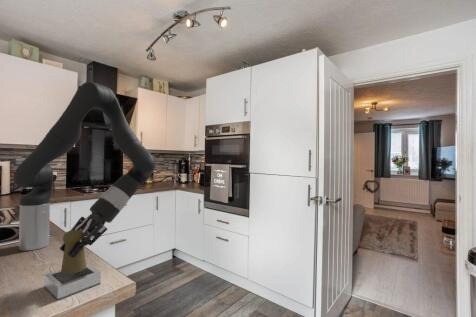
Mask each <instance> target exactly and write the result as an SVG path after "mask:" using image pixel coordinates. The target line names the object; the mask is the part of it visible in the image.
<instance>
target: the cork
mask: <svg viewBox="0 0 476 317" xmlns="http://www.w3.org/2000/svg"><path fill="white" fill-rule="evenodd" d="M70 230H71V229H70ZM70 230H69V231H66V232H64V234H63V236H62V241H63V244H64V243H65V250H64V252H63V255H62V256H63V257H62V262H61V263H62V264H61V269H60V270H61V273H62V274H74V273H78V272H80V271H82V270H84V269H85V268H86V263H87V260H86V254H85V248H84V247H85V246H84V247H83V248H82V250H81V251H80V252H79V253H78V254H77V255H76V256H75V257H74V258H72V257H71V256H69V255H68V254H67V253H68V251H69V250H70V249H71V248H72V247H73V246H74V245H75V244H76V243H77V242H79V239H80V238H81V236H82V232H83V230H76V229H75V230H71V231H70Z"/></svg>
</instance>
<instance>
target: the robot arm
mask: <svg viewBox="0 0 476 317" xmlns="http://www.w3.org/2000/svg"><path fill="white" fill-rule="evenodd" d="M91 110H98V111H101V112H102V113H103V114H104V115H105V117H107V118H108V120H109V123H110V128H111V134H112V138H113V140H114V142H115V144H116V145H117V146H118V148H119V150H120V151H121V153H122V154H123V155H124V156H126V157H128V158H129V160H130V161H131V162H132V165H133V166H132V167H130V169H129V170H128V171H127V173H126V174H123V175H122V176H120V177H119V178H118V179H117V180H116V181H115V182H114V183H113V184H112V185H111V186H110V187H109V188H108V189H107V190H106V191H105V192H103V193H102V195H101V196H100V197H99V198H98V199H97V200H96V201H95V202H94V203H93V204H92V205H91V207H90V208H89V211H90V214H89V215H88V216H87V217H84V216H80V218H79V219H78V220H77V222H76V223H75V224H74V226H73V227H72V228H71V229H70V230H69V231H71V230H83V232H82V236H81V238H80V239H79V242H77V243H76V244H75V245H74V246H73V247H72V248H71V249H70V250H69V251H68V253H67V254H68V255H69V256H71V257H72V258H74V257H75V256H76V255H77V254H78V253H79V252H80V251H81V250H82V248H83V247H87V246H92V245H93V244H94V243H95V242H96V241H97V240H98V239H99V238H100V237H101V236H102V235H104V233H106V231H107V230H108V227H106V226H105V224H106V223H110V224H111V223H112V222H113V221H114V219H116V217H117V216H118V215H119V214H120V212H121V211H122V210H123V209H124V208H125V206H127V204H128V202H129V201H130V199H131V198H132V197H133V195H135V193H136V192H137V191H138V190H139V188H140V187H141V186H142V185H143V184H145V182H147V180H148V179H149V178H150V177H151V176H152V175H153V172H154V171H155V168H156V160H155V158H154V156H153V155H152V153H150V152H149V150H148V149H146V147H145V146H143V145H142V144H141V142H140V140H139V138H138V137H137V135H136V134H135V132H134V131H133V129H132V127H131V126H130V124H129V123H128V120H127V119H126V116H125V114H124V112H123V109H122V108H121V106H120V103H119V101H118V99H117V97H116V95H115V93H114V92H113V90H112V89H111V88H110V87H108V86H105V85H103V84H100V83H97V82H93V81H86V82H84V83H82V84H81V85H80V86H79V87H78V89H77V90H76V92H75V93H74V95H73V97H72V99H71V100H70V101H69V104H68V105H67V107H66V108H65V110H64V111H63V113H61V116H60V117H59V118H58V119H57V121H56V123H54V124H53V126H51V128H50V129H49V131H48V132H47V133H46V135H45V136H44V137H43V139H42V140H40V141H41V142H39V144H38V145H37V146H36V147H35V148H34V150H33V151H32V152H31V153H30V154H28V156H27V157H26V158H25V159H24V160H23V161H21V163H20V164H19V165H18V166H17V167H16V169H15V171H14V173H13V177H12V178H13V183H14V184H15V185H16V186H17V187H19V188H32V190H31V191H30V192H29V193H27V194H24V195H23V196H21V197H20V198H19V220H18V221H19V229H18V235H19V236H18V249H19V251H23V252H24V251H27V252H28V251H35V250H39V249H42V248H45V247H47V246H49V245H50V225H51V224H50V222H51V220H50V218H51V216H50V214H51V212H50V211H51V208H50V206H51V198H52V195H53V189H54V188H53V187H54V170H53V168H52V166H51V165H49V163H52V162H53V161H55V160H56V159H58V158H61V157H62V156H63V155H65V154H67V153H68V152H70V151H71V150H72V149H73V148H74V147H75V145H76V144H77V143H78V142H79V140H80V138H81V137H82V136H81V135H82V123H83V120H84V119H85V117H86V116H87V114H88V113H89V112H91ZM59 250H60V251H61V252H63V253H64V250H65V243H64V242H63V243H62V245H61V246H60V247H59Z"/></svg>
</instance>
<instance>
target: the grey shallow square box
mask: <svg viewBox="0 0 476 317" xmlns="http://www.w3.org/2000/svg"><path fill="white" fill-rule="evenodd" d="M101 275H102V272H101V271H100V270H98V269H97V268H95V267H94V266H92V265H90V264H88V263H87V262H86V268H85V269H84V270H82V271H80V272H78V273H74V274H62V273H61V269H60V270H56V271H53V272H48V273H47V274H44V275H43V276H44V279H43V280H44V283H43V287H44V289H46V290H47V292H49V293H50V295H51V296H52V297H53V298H55V300H56V301H57V302H58V301H60V300H63V299H66V298H69V297H70V296H73V295H75V294H78V293H81V292H83V291H86V290H88V289H91V288H93V287H96V286H99V285H101V280H102V279H101Z"/></svg>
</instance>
